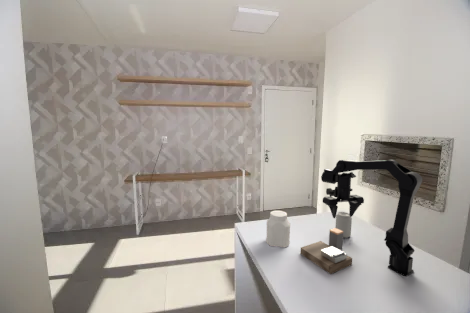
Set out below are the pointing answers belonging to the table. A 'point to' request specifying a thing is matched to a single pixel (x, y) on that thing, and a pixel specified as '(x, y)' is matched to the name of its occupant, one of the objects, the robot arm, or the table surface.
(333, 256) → the panel
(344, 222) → the can
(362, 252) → the table surface
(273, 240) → the jar
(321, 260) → the socket board
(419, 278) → the table surface
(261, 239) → the table surface
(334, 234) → the plug
